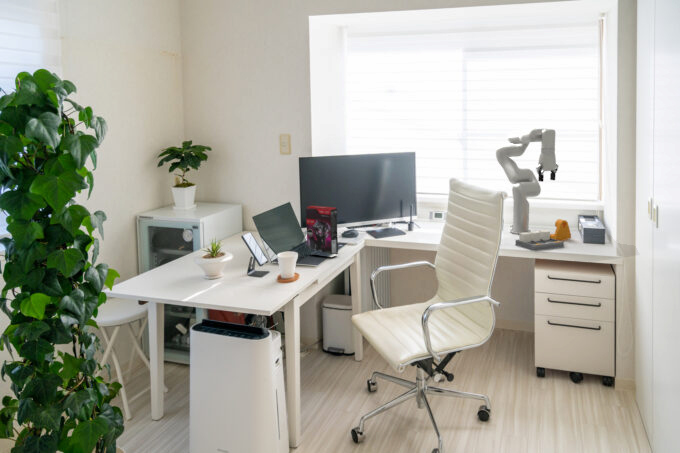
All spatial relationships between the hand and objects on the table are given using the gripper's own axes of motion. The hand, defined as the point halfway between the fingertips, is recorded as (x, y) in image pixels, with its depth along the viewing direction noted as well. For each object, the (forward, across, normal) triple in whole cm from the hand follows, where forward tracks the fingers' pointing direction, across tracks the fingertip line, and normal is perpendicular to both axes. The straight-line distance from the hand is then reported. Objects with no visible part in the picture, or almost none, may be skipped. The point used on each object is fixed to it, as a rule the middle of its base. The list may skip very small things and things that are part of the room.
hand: (546, 180), depth 361 cm
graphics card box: (+36, +127, -42) cm, 138 cm away
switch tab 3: (+33, +7, +5) cm, 34 cm away
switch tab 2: (+33, +13, +4) cm, 36 cm away
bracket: (+36, -9, +3) cm, 37 cm away
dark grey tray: (+36, +14, +9) cm, 39 cm away
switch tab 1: (+33, +20, +4) cm, 39 cm away
